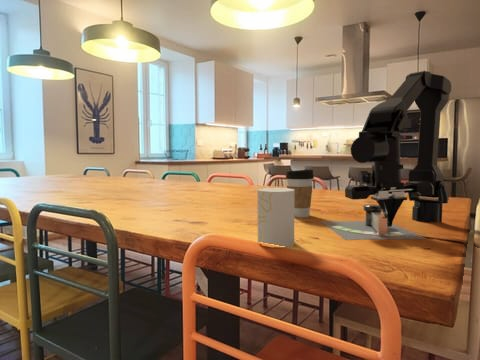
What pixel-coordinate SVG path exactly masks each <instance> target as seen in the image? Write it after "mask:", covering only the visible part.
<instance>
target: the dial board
mask: <svg viewBox="0 0 480 360" xmlns="http://www.w3.org/2000/svg"><path fill="white" fill-rule="evenodd" d="M321 223H322V224H323V225H325V226H326V227H327V228H328V229H330V230H331V231H332V232H334V233H335V234H337V235H338V236H340V237H341V238H342V239H343V240H345V241H349V240H352V241H354V240H355V241H356V240H361V241H362V240H363V241H364V240H415V239H416V240H417V239H420V240H421V239H422V240H423V239H424V240H425V239H427V238H426V237H425V236H422V235H420V234H417V233H415V232H413V231H410V230H408V229H405V228H404V227H401V226H398V225H396V224H394V223H392V227H388V226H387V234H378V233H377V231H376V230H375V229H374V227H370V226H366V220H347V221H345V220H343V221H341V220H340V221H339V220H338V221H333V220H331V221H321Z"/></svg>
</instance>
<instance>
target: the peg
mask: <svg viewBox="0 0 480 360" xmlns="http://www.w3.org/2000/svg"><path fill="white" fill-rule="evenodd" d="M362 206H363V211H365V221H366V226H370V227H374V229H375V230H376V231H377V233H378V234H387V218H386V217H385V216H384V214H383V215H382V213H383V211H382V209H381V207H380V206H379V204H372V203H371V204H369V203H368V204H363V205H362ZM381 212H382V213H381Z"/></svg>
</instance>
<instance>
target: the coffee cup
mask: <svg viewBox="0 0 480 360" xmlns="http://www.w3.org/2000/svg"><path fill="white" fill-rule="evenodd" d="M314 177H315V176H314V169H301V170H297V169H296V170H286V173H285V179H286V183H287V184H286V188H289V189H294V218H308V217H310V214H311V213H310V212H311V205H312V196H313V195H312V194H313V179H315V178H314Z"/></svg>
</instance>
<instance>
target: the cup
mask: <svg viewBox="0 0 480 360" xmlns="http://www.w3.org/2000/svg"><path fill="white" fill-rule="evenodd" d="M256 192H257V193H256V194H257V196H256V197H257V198H256V199H257V201H256V202H257V243H258V242H263V243H268V244H274V245H279V246H285V247H286V248H290V247H293V246H294V245H295V217H294V189H289V188H287V187H266V188H265V187H263V188H258V189H257V191H256Z"/></svg>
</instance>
